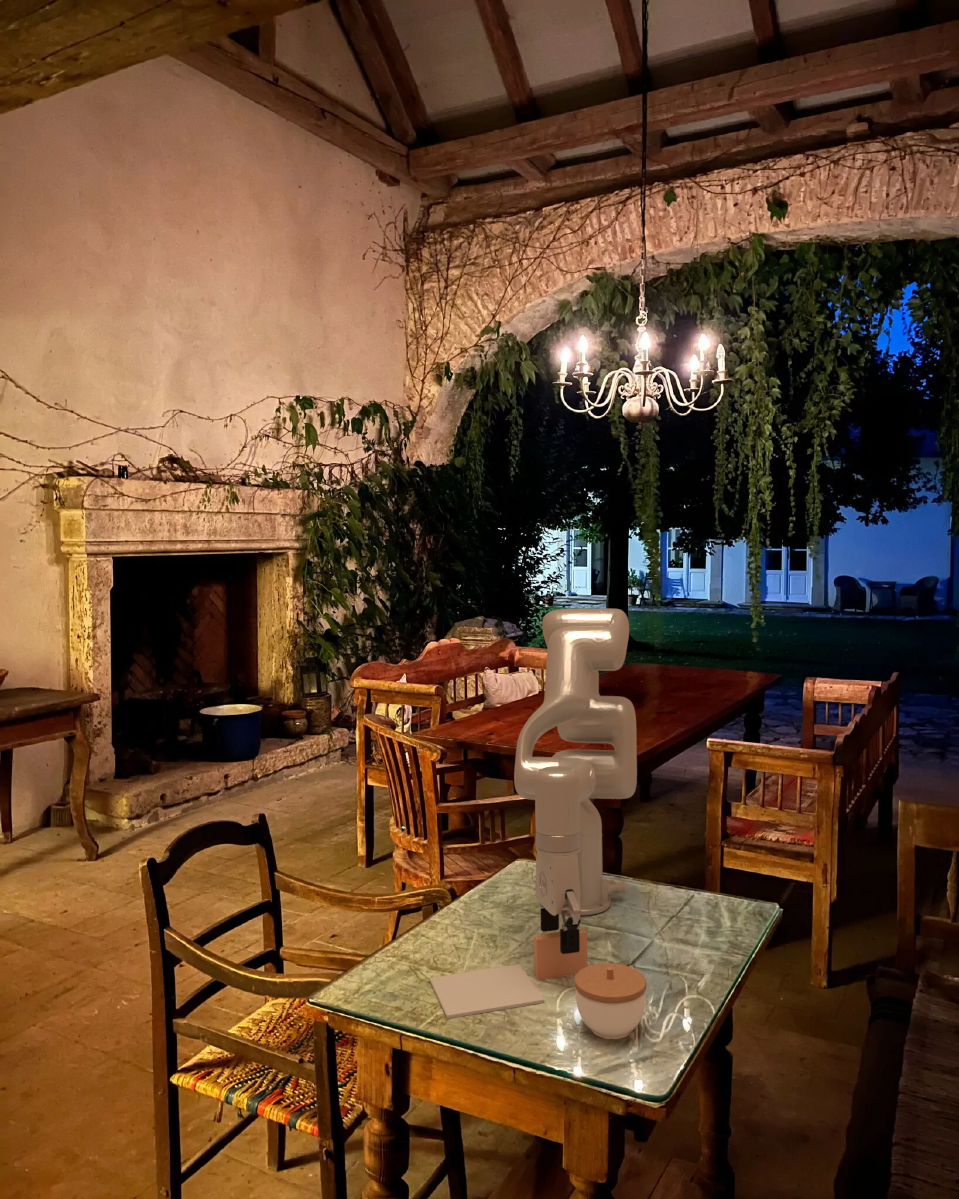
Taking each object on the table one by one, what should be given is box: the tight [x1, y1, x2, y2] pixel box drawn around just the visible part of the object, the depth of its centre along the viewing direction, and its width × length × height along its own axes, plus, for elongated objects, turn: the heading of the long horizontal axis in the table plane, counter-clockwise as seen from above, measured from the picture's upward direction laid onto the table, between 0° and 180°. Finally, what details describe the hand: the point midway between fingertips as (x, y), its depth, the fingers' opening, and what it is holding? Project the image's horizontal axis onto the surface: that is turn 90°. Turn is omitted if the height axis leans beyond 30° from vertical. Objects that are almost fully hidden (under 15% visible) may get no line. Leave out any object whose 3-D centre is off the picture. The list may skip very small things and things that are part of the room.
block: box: [533, 928, 588, 981], centre depth 157 cm, size 9×2×7 cm, turn 105°
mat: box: [429, 964, 545, 1019], centre depth 151 cm, size 16×13×1 cm
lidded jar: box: [574, 962, 647, 1040], centre depth 139 cm, size 11×11×9 cm
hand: (559, 941), depth 156 cm, fingers open, 9 cm apart
